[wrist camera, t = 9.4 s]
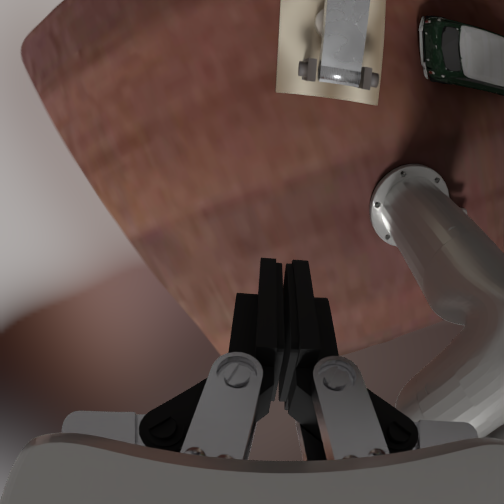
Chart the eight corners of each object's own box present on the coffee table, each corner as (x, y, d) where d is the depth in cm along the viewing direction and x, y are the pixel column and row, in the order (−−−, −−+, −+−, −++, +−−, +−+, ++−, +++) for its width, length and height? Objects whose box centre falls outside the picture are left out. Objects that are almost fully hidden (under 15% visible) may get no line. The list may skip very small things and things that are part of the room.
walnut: (353, 12, 25) (364, 5, 22) (351, 45, 28) (362, 43, 24) (315, 5, 25) (321, -3, 22) (313, 39, 28) (319, 35, 24)
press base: (381, -49, 20) (400, -65, 15) (373, 104, 33) (393, 112, 27) (283, -66, 21) (285, -89, 15) (275, 91, 33) (276, 95, 27)
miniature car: (512, 98, 28) (546, 109, 22) (415, 79, 30) (446, 85, 24) (510, 42, 24) (545, 46, 17) (410, 14, 25) (440, 6, 19)
